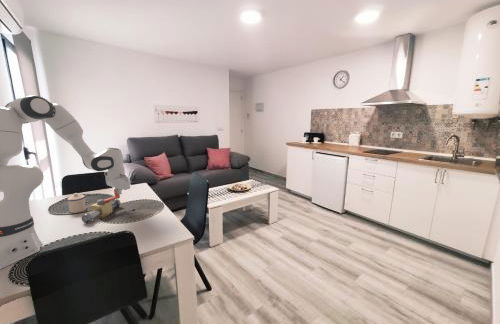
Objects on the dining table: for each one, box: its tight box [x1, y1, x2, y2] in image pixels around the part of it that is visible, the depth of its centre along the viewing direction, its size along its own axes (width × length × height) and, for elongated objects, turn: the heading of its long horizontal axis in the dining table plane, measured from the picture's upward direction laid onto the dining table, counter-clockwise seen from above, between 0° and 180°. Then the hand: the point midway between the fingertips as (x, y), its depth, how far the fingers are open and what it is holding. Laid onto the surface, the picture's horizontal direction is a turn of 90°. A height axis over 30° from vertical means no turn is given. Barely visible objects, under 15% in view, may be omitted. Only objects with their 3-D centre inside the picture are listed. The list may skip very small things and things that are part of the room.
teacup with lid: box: [66, 192, 87, 214], centre depth 140 cm, size 12×9×12 cm
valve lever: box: [96, 188, 121, 204], centre depth 136 cm, size 13×4×6 cm, turn 151°
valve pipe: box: [81, 198, 122, 224], centre depth 134 cm, size 24×7×8 cm, turn 173°
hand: (119, 194), depth 139 cm, fingers closed
